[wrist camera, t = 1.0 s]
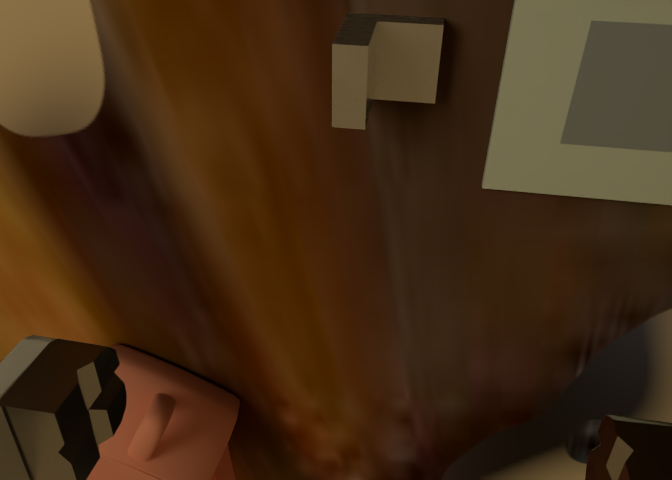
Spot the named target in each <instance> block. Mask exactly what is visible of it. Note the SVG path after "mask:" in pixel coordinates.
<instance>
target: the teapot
mask: <svg viewBox="0 0 672 480" xmlns="http://www.w3.org/2000/svg"><path fill="white" fill-rule="evenodd" d="M110 348H113V349H115V350H116V352H117V356H118V359H119V363H120V365H119V366H118V368H117V369H116V371H115V372H114V373H115V374H116V375H117V376H118V377H119V378H120V379H121V380H122V381H123V382H124V383H125V388H126V392H127V399H126V409H125V412H124V415H123V419H122V422H121V424H120V426H119V427H118V429H117V431H116V432H115V434H114V436H113V437H111V438H109V439H108V440H106V441H104V442H103V443H101V444H100V445H99V452H100V459H99V460H98V462H97V463H96V465H95V467H94V468H93V470H92V471H91V473H90V475H89V476H88V478H87V479H86V480H236V478H235V474H234V469H233V465H232V460H231V456H230V452H229V447H228V441H229V439H230V436H231V434H232V431H233V429H234V426H235V423H236V420H237V417H238V412H239V405H240V400H239V398H237V397H236V396H235V395H233V394H231V393H229V392H228V391H226V390H224V389H222V388H220V387H218V386H216V385H214V384H212V383H210V382H208V381H206V380H204V379H202V378H200V377H198V376H196V375H194V374H192V373H190V372H187V371H185V370H183V369H181V368H179V367H176V366H174V365H172V364H169V363H167V362H165V361H162V360H160V359H157V358H155V357H152V356H150V355H147V354H145V353H143V352H140V351H137V350H135V349H132V348H130V347H127V346H124V345H121V344H113V345H112V346H111V347H110Z"/></svg>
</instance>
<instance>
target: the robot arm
mask: <svg viewBox="0 0 672 480" xmlns="http://www.w3.org/2000/svg"><path fill="white" fill-rule="evenodd" d="M119 365H120V363H119V359H118V356H117V352H116V350H115V349H113V348H110V347H106V346H100V345H94V344H88V343H82V342H76V341H70V340H64V339H54V338H48V337H42V336H36V335H31V336H29V337H26V338H24V339H22V340H21V341H20V342H19V344H18V345H17V346H16V347H15V348H14V349H13V350H12V351H11V352H10V353H9V354H8V355H7V356H6V357H5V358H4V359H3V360H2V361H1V363H0V480H86V479H87V478H88V476H89V475H90V473H91V471H92V470H93V468H94V467H95V465H96V463H97V462H98V460H99V459H100V452H99V445H100V444H101V443H103V442H104V441H106V440H108V439H109V438H111V437H113V436H114V434H115V432H116V431H117V429H118V427H119V426H120V424H121V422H122V419H123V415H124V412H125V409H126V399H127V392H126V388H125V383H124V382H123V381H122V380H121V379H120V378H119V377H118V376H117V375H116V374H115V373H114V372H115V371H116V369H117V368H118V366H119ZM598 434H599V438H600V442H601V445H600V446H598V447H597V448H595V449H593V450H592V451H591V453H590V456H589V459H588V463H587V467H586V478H585V480H672V423H668V422H661V421H653V420H645V419H637V418H629V417H622V416H613V415H606V416H605V418H604V419H603V420H602V422H601V424H600V427H599V430H598Z"/></svg>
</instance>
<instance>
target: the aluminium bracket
mask: <svg viewBox="0 0 672 480" xmlns="http://www.w3.org/2000/svg"><path fill="white" fill-rule="evenodd" d="M443 28H444V18H438V17H420V16H401V15H383V14H365V13H348V14H347V16H346V18H345V20H344V22H343V24H342V26H341V28H340V30H339V32H338V34H337V36H336V38H335V40H334V42H333V44H332V127H339V128H352V129H364V130H365V128H366V124H367V121H368V117H369V114H370V110H371V106H372V103H373V99H378V100H392V101H406V102H420V103H433V104H435V99H436V90H437V81H438V72H439V63H440V54H441V45H442V37H443Z"/></svg>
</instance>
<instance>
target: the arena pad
mask: <svg viewBox="0 0 672 480" xmlns="http://www.w3.org/2000/svg"><path fill="white" fill-rule="evenodd" d="M482 188H485V189H497V190H508V191H519V192H530V193H541V194H553V195H564V196H575V197H586V198H597V199H609V200H620V201H631V202H642V203H653V204H664V205H672V0H514V5H513V11H512V17H511V22H510V28H509V34H508V39H507V45H506V51H505V56H504V62H503V67H502V73H501V79H500V84H499V90H498V96H497V101H496V107H495V112H494V118H493V124H492V129H491V135H490V141H489V146H488V152H487V158H486V163H485V169H484V174H483V180H482Z"/></svg>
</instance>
